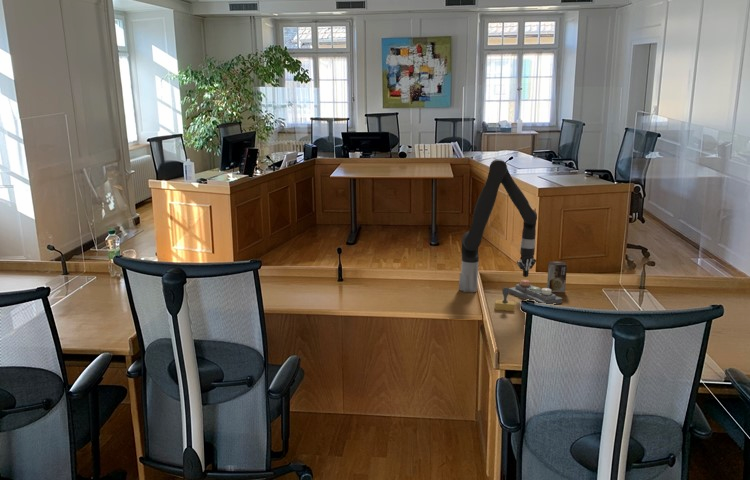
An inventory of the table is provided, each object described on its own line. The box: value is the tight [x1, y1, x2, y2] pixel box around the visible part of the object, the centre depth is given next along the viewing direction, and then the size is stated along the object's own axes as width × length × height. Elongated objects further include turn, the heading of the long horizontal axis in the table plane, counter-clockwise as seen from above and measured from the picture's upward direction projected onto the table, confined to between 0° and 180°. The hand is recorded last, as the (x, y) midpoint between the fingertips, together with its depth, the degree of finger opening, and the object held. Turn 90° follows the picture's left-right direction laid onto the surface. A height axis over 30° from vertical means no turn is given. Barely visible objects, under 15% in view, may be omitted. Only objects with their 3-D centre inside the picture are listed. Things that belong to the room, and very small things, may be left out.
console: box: [508, 283, 563, 305], centre depth 337 cm, size 14×26×4 cm, turn 30°
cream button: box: [541, 287, 552, 296], centre depth 329 cm, size 5×5×2 cm
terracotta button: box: [519, 279, 531, 287], centre depth 342 cm, size 5×5×2 cm
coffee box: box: [546, 261, 568, 293], centre depth 347 cm, size 9×6×16 cm
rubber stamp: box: [494, 286, 516, 312], centre depth 319 cm, size 10×6×12 cm, turn 78°
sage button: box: [531, 286, 541, 292], centre depth 336 cm, size 5×5×2 cm
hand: (525, 276), depth 341 cm, fingers closed
